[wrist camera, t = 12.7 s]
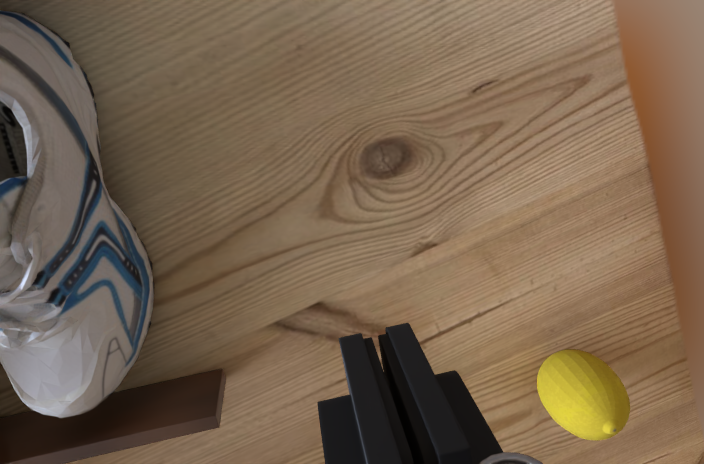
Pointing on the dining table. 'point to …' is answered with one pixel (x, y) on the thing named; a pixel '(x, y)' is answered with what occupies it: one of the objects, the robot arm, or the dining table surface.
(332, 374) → the dining table surface
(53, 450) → the shoe rack
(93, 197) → the athletic shoe
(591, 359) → the lemon
